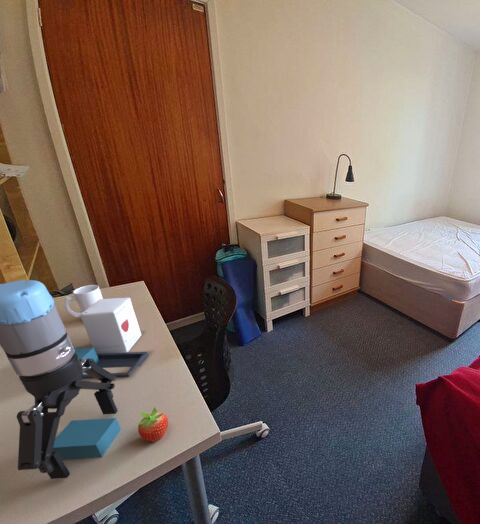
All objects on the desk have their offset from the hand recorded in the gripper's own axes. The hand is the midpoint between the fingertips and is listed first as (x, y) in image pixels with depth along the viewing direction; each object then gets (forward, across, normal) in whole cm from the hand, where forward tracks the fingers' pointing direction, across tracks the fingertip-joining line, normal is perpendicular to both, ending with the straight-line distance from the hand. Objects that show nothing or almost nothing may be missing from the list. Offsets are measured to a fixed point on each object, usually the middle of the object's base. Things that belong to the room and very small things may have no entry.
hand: (88, 441), depth 59 cm
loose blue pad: (+2, 0, 0) cm, 2 cm away
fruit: (+2, +1, -13) cm, 13 cm away
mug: (+2, +49, +34) cm, 60 cm away
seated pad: (+2, +24, +21) cm, 31 cm away
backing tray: (+2, +24, +15) cm, 28 cm away
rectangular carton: (+2, +34, +15) cm, 37 cm away
